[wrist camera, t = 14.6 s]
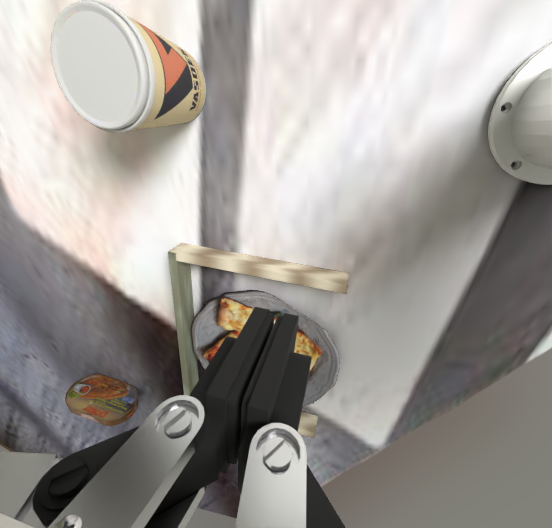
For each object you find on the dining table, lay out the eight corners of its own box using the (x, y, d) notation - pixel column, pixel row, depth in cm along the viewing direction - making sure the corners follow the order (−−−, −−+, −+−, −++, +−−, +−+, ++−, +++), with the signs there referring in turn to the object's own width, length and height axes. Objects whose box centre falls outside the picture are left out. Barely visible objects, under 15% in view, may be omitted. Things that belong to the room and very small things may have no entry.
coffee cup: (221, 123, 34) (161, 123, 24) (156, 136, 37) (77, 140, 26) (201, 28, 30) (119, -23, 20) (131, 49, 33) (27, 14, 23)
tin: (146, 390, 63) (118, 424, 55) (147, 399, 64) (119, 434, 57) (88, 369, 65) (54, 399, 58) (90, 378, 66) (57, 409, 59)
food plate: (179, 347, 54) (168, 361, 50) (230, 257, 42) (221, 268, 39) (289, 415, 55) (285, 432, 52) (367, 345, 44) (368, 362, 41)
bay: (348, 273, 38) (348, 286, 35) (316, 420, 53) (314, 438, 50) (181, 242, 43) (168, 251, 40) (193, 384, 57) (184, 399, 54)
